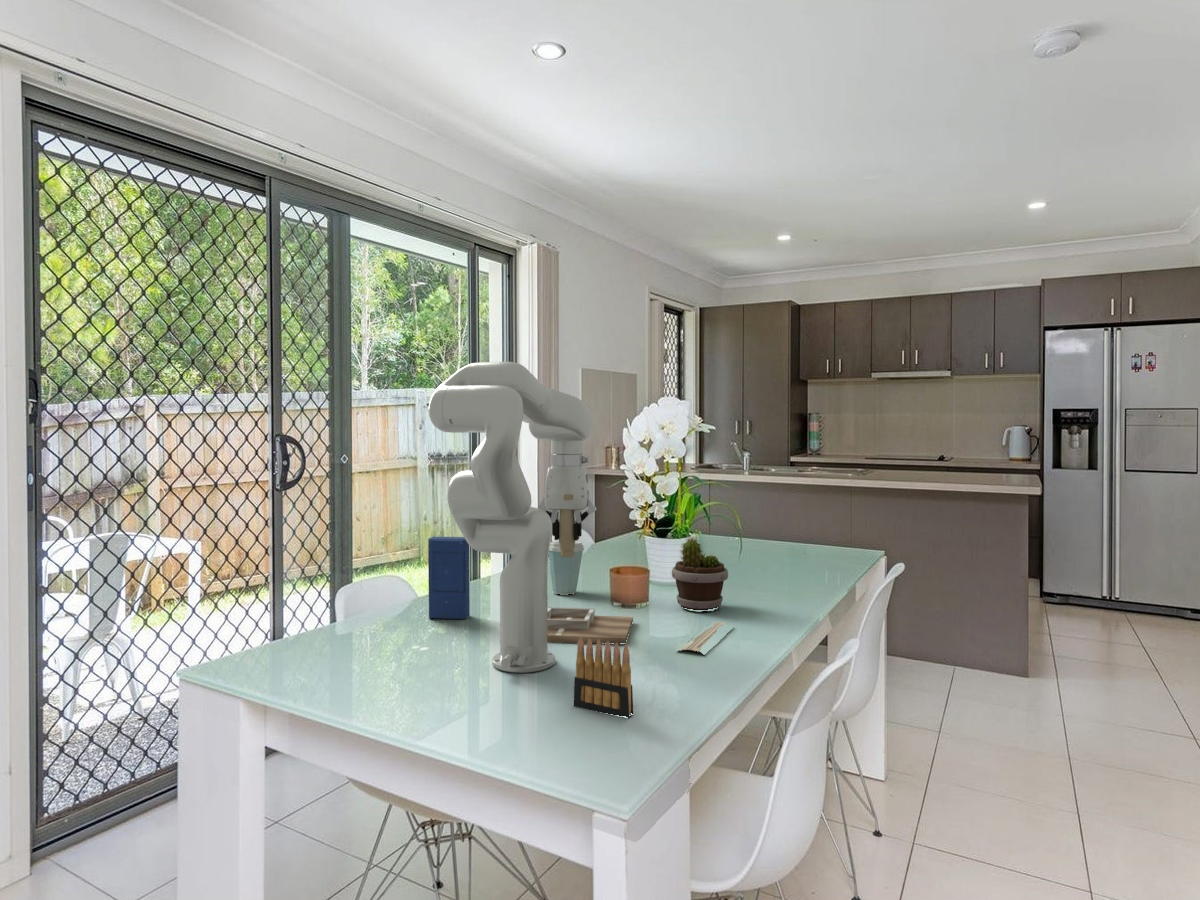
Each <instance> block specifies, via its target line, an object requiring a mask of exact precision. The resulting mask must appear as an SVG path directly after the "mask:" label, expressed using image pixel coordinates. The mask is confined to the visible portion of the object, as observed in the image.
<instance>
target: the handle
mask: <svg viewBox="0 0 1200 900" xmlns="http://www.w3.org/2000/svg"><path fill="white" fill-rule="evenodd" d="M564 500H573V494H565V495H564ZM558 520H559V539H558V542H559V547H560V550H561V551H560V556H561V557H564V558H565V557H569V558H570V557H573V556H574V551H573V549H574V548H575V542H576V540H574V524H575V521H576V517H575V512H574V510H559V516H558Z"/></svg>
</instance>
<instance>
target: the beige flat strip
mask: <svg viewBox="0 0 1200 900" xmlns="http://www.w3.org/2000/svg"><path fill="white" fill-rule="evenodd" d="M716 622H717V623H715V624H714V626H713V627H712V626H711V628H709V629H707V630H705V631H704V632H703V633H701V634H700V635H698V636H697V637H696V638H695V639H694V640H692V641H691V642H690V643H689V644H687V645H686V646H685V647H683V648H682V649H681V650H683V651H693V652H696V651H697V653H699V652H698V651H700V650H701V648H702V646H703V645H705V644H706V643H707V641H708V640H709V639H710V638H711V637H712V636H713V634H715V633H716V632H717V629H718V628H719V627H720V626H722V625H723V624H724V623H725V622H722V621H716Z"/></svg>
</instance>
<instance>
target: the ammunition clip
mask: <svg viewBox="0 0 1200 900" xmlns="http://www.w3.org/2000/svg"><path fill="white" fill-rule="evenodd" d="M593 645H594V644H592V641H591V638H589V639H588V642H587V643H586V650H585V643H583V639H582V637H581V636H580V638H579V641H578V643H577V648H576V649H577V651H576V661H575V676H574V682H573V683H574V685H573V689H574V690H573V707H575V708H579V709H583V710H587V709H588V711H591V710H592V711H591V712H596V711H597V712H596V713H600V712H602V713H601V714H604V713H608V714H613V715H619V716H626V717H629V715H631V713H632V714H633V715H634V697H633V696H634V695H633V694H634V692H633V684H632V671H631V670H632V669H631V661H630V659H631V657H630V650H629V646H628V644H627V643H626V644H625V645H623V646H624V647H623V650H622V662H621V650H620V645H618V643H617V642H616V644H615V645H614V649H613V654H612V650H611V644H609V641H607V642H606V644H604V645H605V646H604V652H603V646H602V644H601V642H600V640H599V639H598V641H597V644H595V651H594V646H593ZM585 651H586V653H585ZM603 653H604V654H603ZM603 655H604V656H603ZM612 655H613V656H612ZM612 657H613V659H612ZM608 714H607V715H608ZM613 715H612V716H613Z"/></svg>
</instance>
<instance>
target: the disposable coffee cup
mask: <svg viewBox="0 0 1200 900" xmlns="http://www.w3.org/2000/svg"><path fill="white" fill-rule="evenodd" d="M560 551H561V550H560V547H559V541H551V542H550V548H549V555H548V562H549V568H550V576H551V578H550V579H551V585H552V591H553V594H554V593H555V595H557V594H560V595H559V596H568V595H567V594H573V593H575V594H576V592H577V588H578V582H579V576H580V571H581V565H582V557H583V554H584V553H583V552H584V551H585V547H584V545H583V542H582V541H580V542H579V541H575V548H574V549H573V551H574V556H573V557H570V558H569V557H565V558H564V557H561V556H560ZM573 595H574V594H573Z"/></svg>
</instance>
